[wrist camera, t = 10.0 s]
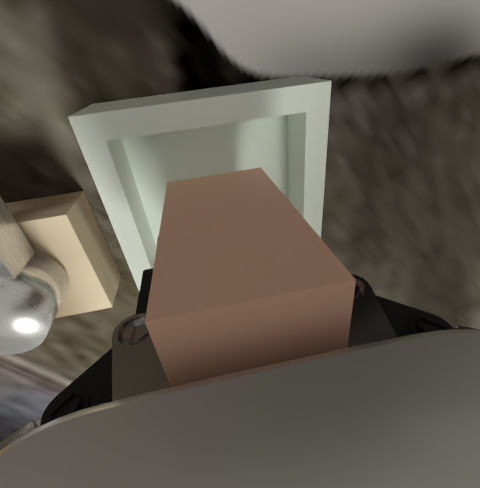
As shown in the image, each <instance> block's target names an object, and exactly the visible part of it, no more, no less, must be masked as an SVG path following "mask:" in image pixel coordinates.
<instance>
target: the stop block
mask: <svg viewBox="0 0 480 488" xmlns="http://www.w3.org/2000/svg"><path fill="white" fill-rule="evenodd" d="M355 283H356V279H355V278H354V277H353V276H352V275H351V273H350V272H349V271H348V270H347V269H346V267H345V266H344V265H343V264H342V263H341V262H340V260H339V259H338V258H337V257H336V256H335V254H334V253H333V252H332V251H331V250H330V249H329V247H328V246H327V245H326V244H325V243H324V241H323V240H322V239H321V238H320V237H319V236H318V234H317V233H316V232H315V231H314V230H313V228H312V227H311V226H310V225H309V224H308V223H307V221H306V220H305V219H304V218H303V217H302V215H301V214H300V213H299V212H298V211H297V210H296V208H295V207H294V206H293V205H292V204H291V202H290V201H289V200H288V199H287V198H286V197H285V195H284V194H283V193H282V192H281V191H280V189H279V188H278V187H277V186H276V185H275V184H274V182H273V181H272V180H271V179H270V178H269V176H268V175H267V174H266V173H265V172H264V171H263V169H262V168H261V167H259V168H253V169H247V170H240V171H234V172H228V173H222V174H216V175H209V176H203V177H197V178H191V179H184V180H178V181H172V182H167V187H166V193H165V200H164V206H163V212H162V218H161V225H160V231H159V237H158V243H157V250H156V256H155V262H154V268H153V275H152V281H151V287H150V293H149V300H148V306H147V312H146V318H145V324H146V326H147V329H148V331H149V334H150V336H151V339H152V341H153V344H154V346H155V349H156V352H157V354H158V357H159V359H160V362H161V364H162V367H163V369H164V372H165V374H166V377H167V379H168V382H169V384H170V387H174V386H178V385H182V384H187V383H191V382H196V381H200V380H204V379H209V378H213V377H217V376H222V375H226V374H231V373H235V372H240V371H244V370H249V369H253V368H258V367H262V366H267V365H271V364H276V363H280V362H285V361H289V360H294V359H298V358H303V357H307V356H312V355H316V354H321V353H326V352H330V351H335V350H339V349H344V348H347V347H348V339H349V331H350V323H351V315H352V307H353V299H354V291H355Z"/></svg>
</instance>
